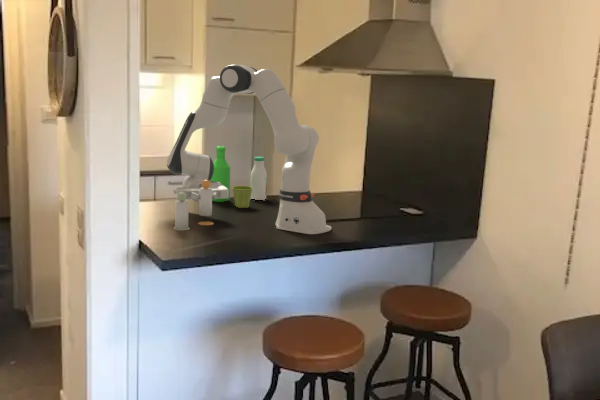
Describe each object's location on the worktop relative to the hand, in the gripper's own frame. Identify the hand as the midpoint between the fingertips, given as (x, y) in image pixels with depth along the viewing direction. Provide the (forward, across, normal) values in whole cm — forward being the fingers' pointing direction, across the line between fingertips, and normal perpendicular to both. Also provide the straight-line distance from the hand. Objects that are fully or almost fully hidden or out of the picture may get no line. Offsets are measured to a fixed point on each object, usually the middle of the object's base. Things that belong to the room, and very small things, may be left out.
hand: (206, 196), depth 243 cm
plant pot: (-33, +23, +12) cm, 42 cm away
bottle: (-47, +17, +12) cm, 52 cm away
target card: (+2, -5, +11) cm, 13 cm away
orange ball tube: (-1, 0, +7) cm, 7 cm away
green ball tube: (+5, -10, +10) cm, 16 cm away
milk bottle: (-48, +35, +12) cm, 60 cm away
